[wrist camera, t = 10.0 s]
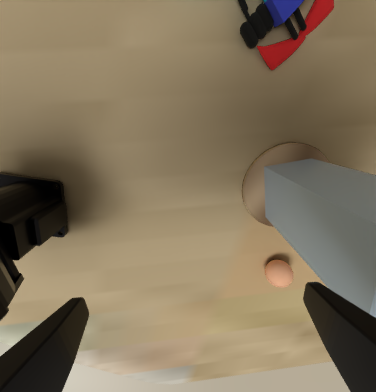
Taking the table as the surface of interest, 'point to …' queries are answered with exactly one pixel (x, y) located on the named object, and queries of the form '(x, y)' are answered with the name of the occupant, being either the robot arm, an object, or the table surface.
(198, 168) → the table surface
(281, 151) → the coaster
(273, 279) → the ball
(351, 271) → the pale blue box
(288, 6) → the toy figure
